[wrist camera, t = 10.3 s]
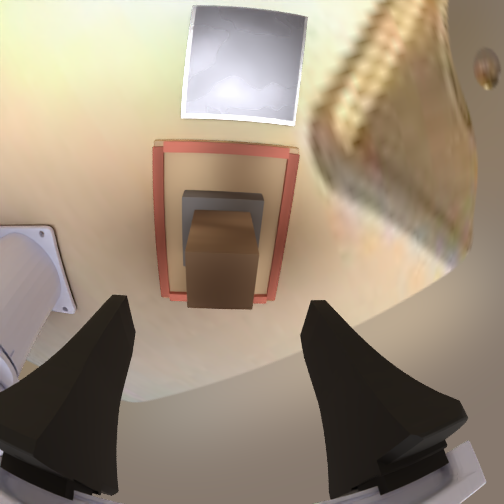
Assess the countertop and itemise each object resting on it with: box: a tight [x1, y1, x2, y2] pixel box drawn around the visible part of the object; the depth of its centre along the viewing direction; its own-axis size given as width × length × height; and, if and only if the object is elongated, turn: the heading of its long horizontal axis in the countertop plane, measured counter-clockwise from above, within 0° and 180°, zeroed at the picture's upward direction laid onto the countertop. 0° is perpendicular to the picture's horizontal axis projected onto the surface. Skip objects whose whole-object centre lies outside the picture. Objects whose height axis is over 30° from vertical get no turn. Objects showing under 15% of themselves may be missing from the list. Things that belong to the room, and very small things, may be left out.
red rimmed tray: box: [153, 140, 300, 303], centre depth 17 cm, size 8×11×1 cm
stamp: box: [182, 190, 264, 309], centre depth 14 cm, size 4×4×6 cm
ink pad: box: [181, 5, 308, 126], centre depth 12 cm, size 6×7×2 cm
